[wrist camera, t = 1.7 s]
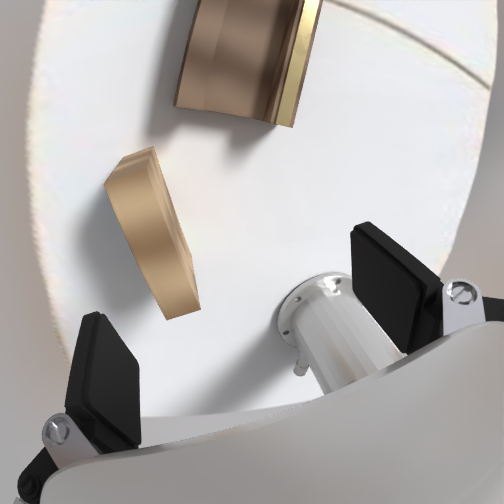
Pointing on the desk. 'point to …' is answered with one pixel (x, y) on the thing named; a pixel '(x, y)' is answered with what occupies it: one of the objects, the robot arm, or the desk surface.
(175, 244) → the wooden picture frame
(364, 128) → the desk surface
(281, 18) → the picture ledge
